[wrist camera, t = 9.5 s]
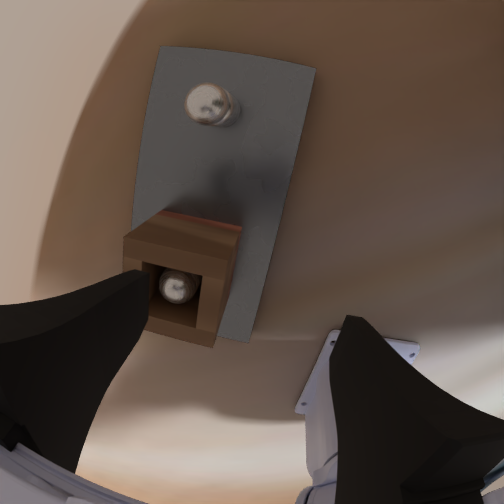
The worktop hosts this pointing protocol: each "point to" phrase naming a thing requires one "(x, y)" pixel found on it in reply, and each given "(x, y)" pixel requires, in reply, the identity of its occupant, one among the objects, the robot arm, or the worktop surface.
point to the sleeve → (189, 260)
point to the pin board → (222, 159)
